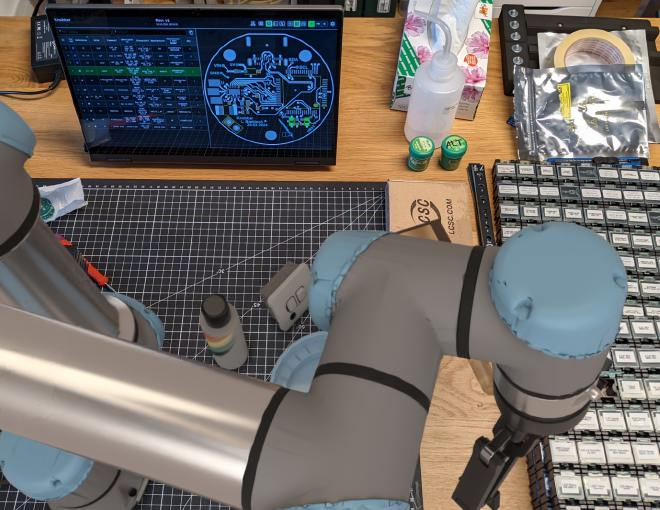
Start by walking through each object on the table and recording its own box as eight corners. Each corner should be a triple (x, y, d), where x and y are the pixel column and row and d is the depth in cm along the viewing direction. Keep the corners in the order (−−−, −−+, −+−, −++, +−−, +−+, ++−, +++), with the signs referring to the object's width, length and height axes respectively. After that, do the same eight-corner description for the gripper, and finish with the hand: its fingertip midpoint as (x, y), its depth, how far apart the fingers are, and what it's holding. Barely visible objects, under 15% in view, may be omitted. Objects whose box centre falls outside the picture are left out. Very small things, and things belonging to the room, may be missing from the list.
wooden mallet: (475, 403, 70) (479, 398, 68) (396, 242, 80) (398, 234, 79) (509, 390, 71) (514, 385, 69) (427, 232, 81) (430, 224, 79)
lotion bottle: (231, 331, 106) (213, 278, 89) (255, 351, 104) (242, 301, 87) (207, 356, 104) (184, 306, 86) (232, 377, 102) (213, 330, 85)
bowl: (293, 479, 94) (291, 472, 89) (256, 365, 103) (253, 352, 98) (409, 435, 98) (413, 426, 93) (364, 329, 107) (366, 315, 101)
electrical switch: (285, 334, 106) (278, 308, 98) (263, 317, 108) (254, 291, 100) (319, 295, 110) (315, 268, 102) (297, 280, 112) (291, 252, 104)
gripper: (470, 534, 42) (477, 572, 59) (688, 293, 48) (637, 391, 65) (393, 455, 46) (420, 512, 63) (603, 241, 52) (576, 347, 69)
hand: (530, 451), depth 64 cm, fingers open, 13 cm apart
